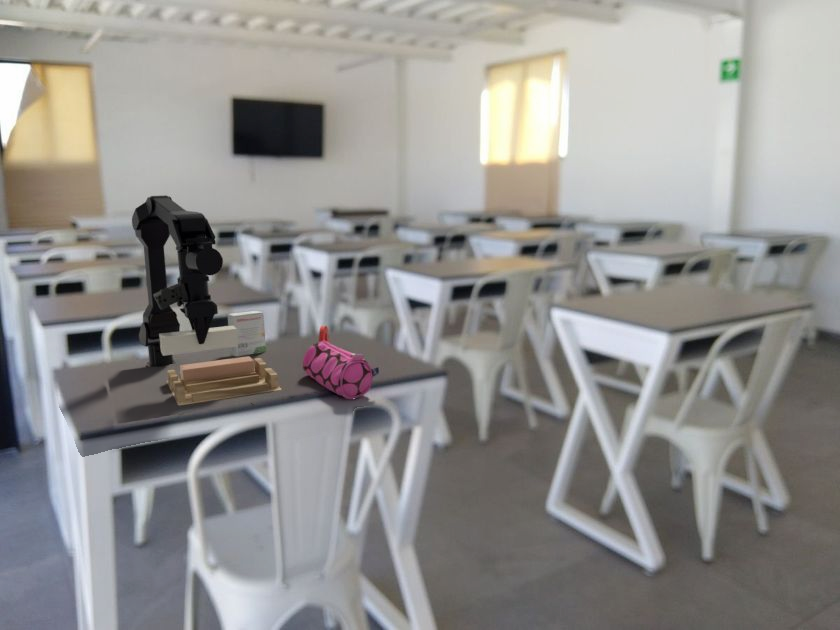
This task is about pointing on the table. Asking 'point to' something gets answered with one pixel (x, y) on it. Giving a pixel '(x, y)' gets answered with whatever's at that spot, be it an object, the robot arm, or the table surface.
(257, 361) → the rack
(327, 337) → the bracket
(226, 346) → the long ivory plank
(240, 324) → the ink box
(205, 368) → the fired brick
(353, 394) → the pencil case
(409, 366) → the table surface
